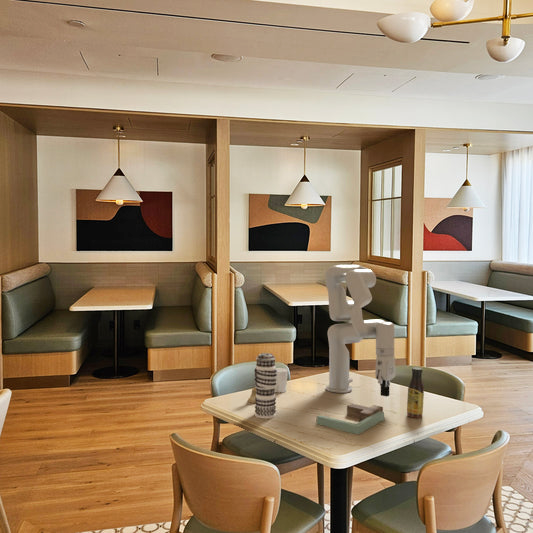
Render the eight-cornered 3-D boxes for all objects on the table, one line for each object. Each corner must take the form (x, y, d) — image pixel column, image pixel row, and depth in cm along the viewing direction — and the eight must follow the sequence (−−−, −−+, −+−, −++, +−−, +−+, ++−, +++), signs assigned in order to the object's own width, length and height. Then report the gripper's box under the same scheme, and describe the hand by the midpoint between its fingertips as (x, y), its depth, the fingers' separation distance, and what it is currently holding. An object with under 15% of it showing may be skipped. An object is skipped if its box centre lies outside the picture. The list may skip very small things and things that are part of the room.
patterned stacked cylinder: (253, 418, 210) (254, 356, 208) (254, 411, 219) (254, 351, 218) (276, 418, 210) (277, 356, 209) (276, 411, 219) (276, 352, 218)
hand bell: (263, 397, 239) (263, 362, 238) (268, 402, 231) (268, 366, 230) (245, 398, 237) (246, 363, 236) (250, 404, 229) (250, 367, 228)
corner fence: (344, 410, 221) (344, 403, 221) (383, 419, 210) (384, 412, 210) (316, 423, 204) (316, 416, 204) (358, 434, 193) (358, 426, 193)
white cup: (287, 393, 246) (287, 372, 245) (270, 393, 246) (270, 371, 246) (287, 388, 254) (287, 368, 253) (270, 388, 254) (271, 367, 253)
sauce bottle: (403, 415, 215) (404, 367, 214) (413, 412, 219) (414, 365, 218) (417, 419, 210) (418, 370, 209) (426, 416, 214) (427, 368, 213)
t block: (356, 410, 221) (356, 401, 221) (382, 416, 213) (382, 407, 213) (341, 417, 212) (341, 408, 211) (368, 424, 204) (368, 414, 204)
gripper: (385, 355, 210) (385, 401, 210) (401, 350, 222) (401, 393, 222) (368, 353, 215) (368, 398, 215) (384, 348, 227) (384, 390, 227)
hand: (385, 395), depth 219 cm, fingers closed
